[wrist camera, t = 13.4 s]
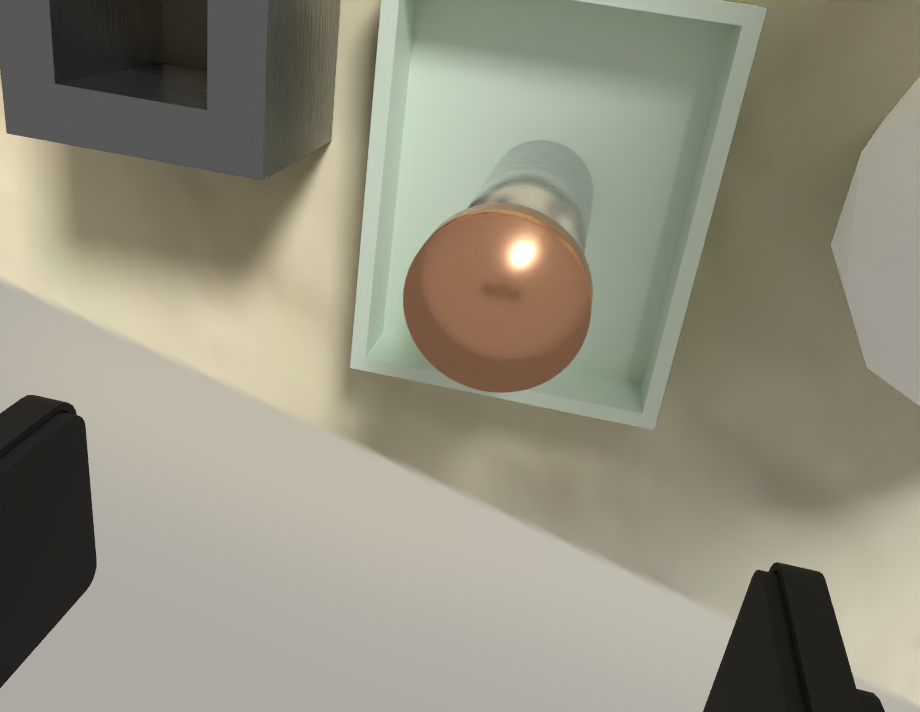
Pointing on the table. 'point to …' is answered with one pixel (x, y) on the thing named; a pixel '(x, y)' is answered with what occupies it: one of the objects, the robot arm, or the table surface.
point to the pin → (508, 275)
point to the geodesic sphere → (886, 248)
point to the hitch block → (173, 81)
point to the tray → (580, 129)
